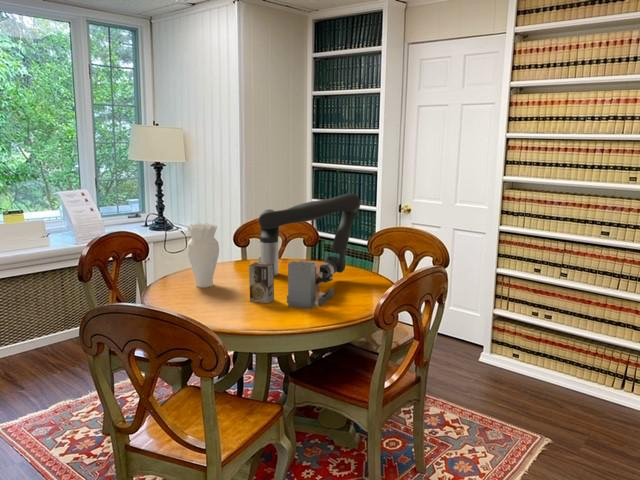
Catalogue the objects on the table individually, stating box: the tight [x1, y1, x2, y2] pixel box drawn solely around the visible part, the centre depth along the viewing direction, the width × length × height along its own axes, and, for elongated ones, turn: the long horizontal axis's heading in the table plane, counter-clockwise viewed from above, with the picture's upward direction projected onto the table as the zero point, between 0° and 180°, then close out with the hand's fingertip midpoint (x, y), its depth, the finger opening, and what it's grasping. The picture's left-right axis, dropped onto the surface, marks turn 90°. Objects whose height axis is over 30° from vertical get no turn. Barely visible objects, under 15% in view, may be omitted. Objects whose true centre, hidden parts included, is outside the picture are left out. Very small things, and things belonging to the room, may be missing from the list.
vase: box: [186, 222, 220, 288], centre depth 253 cm, size 15×15×29 cm
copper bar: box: [315, 264, 321, 298], centre depth 236 cm, size 4×4×14 cm
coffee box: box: [248, 261, 275, 304], centre depth 231 cm, size 9×6×16 cm
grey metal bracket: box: [286, 260, 335, 310], centre depth 231 cm, size 15×23×18 cm
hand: (311, 281), depth 233 cm, fingers closed on copper bar, 4 cm apart
